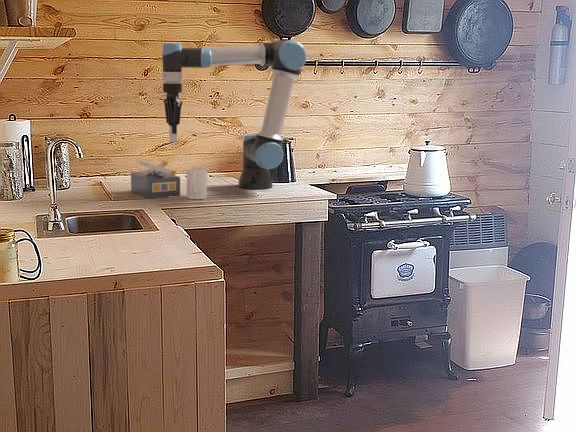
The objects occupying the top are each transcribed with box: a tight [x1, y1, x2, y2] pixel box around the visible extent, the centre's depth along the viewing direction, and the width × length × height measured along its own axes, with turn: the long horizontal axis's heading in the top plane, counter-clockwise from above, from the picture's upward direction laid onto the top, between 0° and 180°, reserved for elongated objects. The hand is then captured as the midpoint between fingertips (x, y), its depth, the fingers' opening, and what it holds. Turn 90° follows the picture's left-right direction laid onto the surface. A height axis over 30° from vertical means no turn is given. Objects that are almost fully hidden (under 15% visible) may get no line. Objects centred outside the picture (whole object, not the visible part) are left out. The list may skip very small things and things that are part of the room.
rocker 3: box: [148, 164, 177, 175], centre depth 309 cm, size 11×3×2 cm, turn 124°
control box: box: [130, 170, 181, 199], centre depth 315 cm, size 14×18×10 cm
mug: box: [185, 166, 208, 200], centre depth 308 cm, size 12×8×12 cm
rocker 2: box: [139, 159, 169, 175], centre depth 314 cm, size 11×3×2 cm, turn 121°
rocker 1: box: [136, 159, 165, 168], centre depth 319 cm, size 11×3×2 cm, turn 124°
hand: (173, 141), depth 309 cm, fingers closed
